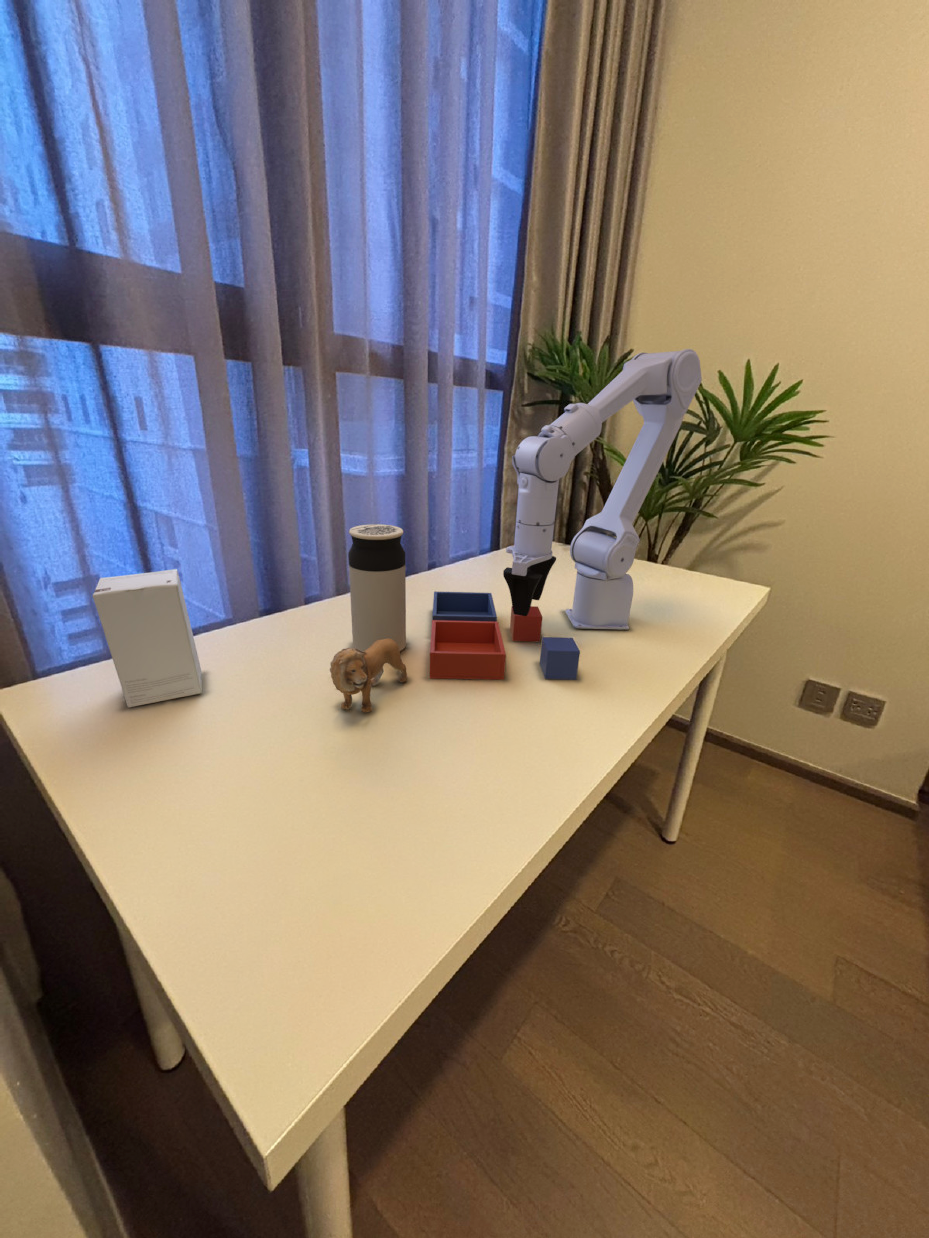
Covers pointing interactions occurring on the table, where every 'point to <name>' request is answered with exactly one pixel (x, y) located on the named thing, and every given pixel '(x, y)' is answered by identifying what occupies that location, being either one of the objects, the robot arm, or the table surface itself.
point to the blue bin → (463, 606)
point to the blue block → (559, 658)
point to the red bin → (466, 650)
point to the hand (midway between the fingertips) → (527, 606)
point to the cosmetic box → (149, 636)
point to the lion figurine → (364, 670)
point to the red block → (526, 625)
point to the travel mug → (377, 585)
